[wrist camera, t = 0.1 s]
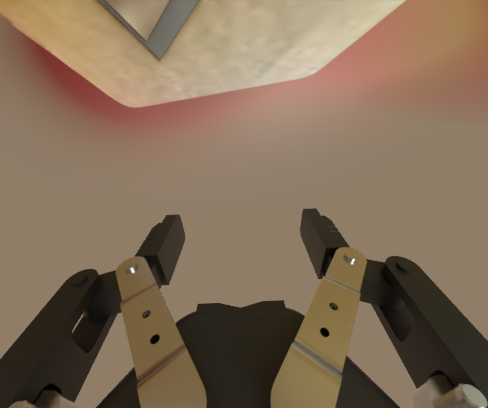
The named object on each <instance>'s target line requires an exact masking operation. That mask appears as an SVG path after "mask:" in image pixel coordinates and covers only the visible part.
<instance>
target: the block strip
mask: <svg viewBox="0 0 488 408" xmlns="http://www.w3.org/2000/svg"><path fill="white" fill-rule="evenodd" d="M106 1H107V2H108V3H109V4H110V5H111V6H112V7H113V8H114V9H115V10H116V11H117V12H118V13H119V14H120V15H121V16H122V17H123V18H124V19H125V20H126V21H127V22H128V23H129V24H130V25H131V26H132V27H133V28H134V29H135V30H136V31H137V32H138V33H139V34H140V35H141V36H142V37H143V38H144V39H145V40H146V41H147V40H148V38H149V36H150V35H151V33H152V31H153V29H154V28H155V26H156V24H157V22H158V21H159V19H160V17H161V15H162V14H163V12H164V10H165V8H166V7H167V5H168V3H169V1H170V0H106Z"/></svg>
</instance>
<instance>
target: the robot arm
mask: <svg viewBox="0 0 488 408" xmlns="http://www.w3.org/2000/svg"><path fill="white" fill-rule="evenodd" d="M300 232H301V237H302V240H303V242H304V245H305V247H306V250H307V252H308V254H309V257H310V260H311V262H312V264H313V267H314V269H315V272H316V274H317V276H318V279H322V280H321V282H320V285H319V287H318V289H317V291H316V293H315V296H314V298H313V300H312V302H311V305H310V307H309V309H308V311H307V313H306V316H304V315H302V314H301V313H299V312H297V311H295V310H292V309H289V308H286V307H285V304H284V301H281V300H280V301H262V302H259V303H255V304H252V305H249V306H246V307H242V308H239V307H234V306H230V305H225V304H220V303H210V304H198V306H197V311H196V312H193V313H191V314H188V315H187V316H185V317H183V318H182V319H180V320H179V321H178V322H176V323H175V322H174V320H173V318H172V316H171V314H170V311H169V309H168V307H167V305H166V303H165V300H164V298H163V296H162V294H161V292H160V288H161V285H169V283H170V280H171V277H172V275H173V272H174V269H175V267H176V264H177V261H178V258H179V256H180V253H181V250H182V247H183V245H184V241H185V233H184V229H183V225H182V221H181V218H180V215H166V217H165V219H164V220H163V222H162V223H158V224H157V225H156V226H155V227H153V228H152V230H151V231H150V233H149V235H148V236H147V238H146V240H145V241H144V242H143V244H142V245H141V247H140V249H139V250H138V252H137V254H136V255H135V257H132V258H129V259H127V260H125V261H124V262H122V263H121V264H120V265H119V266H118V268H117V269H116V270H115V271H112V272H108V273H105V274H101V275H99V274H98V272H97V271H96V270H94V269H86V270H83V271H80V272H78V273H76V274H74V275H73V276H71V277H70V278H69V279H68V280H66V282H65V283H64V284H63V285H62V286H61V287H60V289H59V290H58V291H57V292H56V293H55V295H54V296H53V297H52V298H51V299H50V301H49V302H48V303H47V304H46V305H45V307H44V308H43V309H42V310H41V311H40V313H39V314H38V315H37V316H36V317H35V319H34V320H33V321H32V322H31V323H30V325H29V326H28V327H27V328H26V329H25V331H24V332H23V333H22V334H21V335H20V337H19V338H18V339H17V340H16V341H15V342H14V344H13V345H12V346H11V347H10V348H9V350H8V351H7V352H6V353H5V354H4V356H3V357H2V358H1V359H0V408H76V406H75V404H74V402H75V400H76V398H77V396H78V394H79V392H80V390H81V388H82V386H83V383H84V381H85V379H86V377H87V375H88V373H89V371H90V369H91V367H92V365H93V363H94V361H95V359H96V357H97V355H98V353H99V350H100V348H101V346H102V344H103V342H104V340H105V338H106V336H107V334H108V332H109V330H110V328H111V326H112V324H113V322H114V320H115V318H116V316H117V314H118V313H121V312H122V316H123V320H124V324H125V329H126V333H127V337H128V341H129V346H130V350H131V354H132V359H133V363H134V368H133V369H132V370H131V371H130V372H129V373H128V374H127V375H126V376H125V377H124V378H123V379H122V380H121V381H120V382H119V384H118V385H117V386H116V387H115V388H114V389H113V390H112V391H111V392H110V393H109V394H108V395H107V396H106V397H105V398H104V400H103V401H102V402H101V403H100V404H99V405H98V406H97V407H96V408H400V407H399V406H398V405H397V404H396V403H395V402H394V401H393V400H392V399H391V398H390V397H389V396H388V395H387V394H386V393H384V391H383V390H382V389H381V388H379V387H378V386H377V385H376V384H375V383H374V382H373V381H372V380H371V379H370V378H369V377H368V376H367V375H366V374H365V373H364V372H363V371H362V370H361V369H360V368H359V367H358V366H357V365H356V364H354V363H353V362H352V360H351V359H349V357H347V356H346V354H347V350H348V346H349V342H350V337H351V333H352V329H353V325H354V321H355V316H356V312H357V308H358V304H359V301H363V302H367V303H370V304H371V305H372V306H373V308H374V310H375V312H376V314H377V316H378V317H379V319H380V321H381V323H382V325H383V327H384V329H385V330H386V332H387V334H388V336H389V338H390V340H391V342H392V343H393V345H394V347H395V349H396V351H397V353H398V354H399V356H400V358H401V360H402V362H403V364H404V366H405V367H406V369H407V371H408V373H409V375H410V377H411V378H412V380H413V382H414V384H415V386H416V388H417V389H416V391H415V392H414V397H413V400H414V405H415V408H488V341H487V340H486V339H485V338H484V337H483V336H482V335H481V333H480V332H479V331H478V330H477V329H476V328H475V327H474V326H473V325H472V324H471V323H470V321H468V319H467V318H466V317H465V316H464V315H463V314H462V313H461V312H460V311H459V310H458V308H457V307H456V306H455V305H454V304H453V303H452V302H451V301H450V300H449V299H448V298H447V296H445V294H444V293H443V292H442V291H441V290H440V289H439V288H438V287H437V286H436V285H435V283H434V282H433V281H432V280H431V279H430V278H429V277H428V276H427V275H426V274H425V273H424V272H423V270H422V269H421V268H420V267H419V266H418V265H416V264H415V263H414V262H412V261H410V260H408V259H406V258H403V257H398V256H391V257H388V258H387V260H386V261H385V263H384V262H378V261H373V260H368V259H366V258H365V256H364V255H363V254H362V253H361V252H359V251H358V250H355V249H353V248H350V247H349V245H348V244H347V243H346V241H345V240H344V238H343V237H342V235H341V234H340V232H338V229H337V228H336V227H335V225H334V224H333V222H332V221H331V220H330V219H329V218H327V217H326V216H321V215H320V214H319V212H318V211H317V209H315V208H314V209H303V213H302V220H301V227H300ZM82 314H83V315H84V316H83V317H82V319H81V320H80V322H79V324H78V325H77V327H76V328H75V330H74V332H73V333H72V330H73V328H74V326H75V324H76V323H77V322H78V320H79V319H80V317H81V315H82Z"/></svg>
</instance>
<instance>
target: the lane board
mask: <svg viewBox="0 0 488 408" xmlns="http://www.w3.org/2000/svg"><path fill="white" fill-rule="evenodd" d="M99 1H100V2H101V3H102V4H103V5H104V6H106V7H107V8H108V9H109V10H110V11H111V12H112V13H113V14H114V15H115V16H116V17H117V18H118V19H119V20H120V21H121V22H122V23H123V24H124V25H125V26H126V27H127V28H128V29H129V30H130V31H131V32H132V33H133V34H134V35H135V36H136V37H137V38H138V39H139V40H141V41H142V42H143V43H144V44H145V45H146V46H147V47H148V48H149V49H150V50H151V51H152V52H153V53H154V54H155V55H156V56H157V57H158V58H159V59H161V58H162V56H163V55H164V53H165V52H166V50H167V48H168V47H169V45H170V44H171V42H172V41H173V39H174V38H175V36H176V35H177V33H178V31H179V30H180V28H181V27H182V25H183V24H184V22H185V21H186V19H187V18H188V16H189V14H190V13H191V11H192V10H193V8H194V7H195V5H196V4H197V2H198V1H199V0H170V1H169V3H168V5H167V7H166V8H165V10H164V12H163V14H162V15H161V17H160V19H159V21H158V22H157V24H156V26H155V28H154V29H153V31H152V33H151V35H150V36H149V38H148V40H147V41H146V40H145V39H144V38H143V37H142V36H141V35H140V34H139V33H138V32H137V31H136V30H135V29H134V28H133V27H132V26H131V25H130V24H129V23H128V22H127V21H126V20H125V19H124V18H123V17H122V16H121V15H120V14H119V13H118V12H117V11H116V10H115V9H114V8H113V7H112V6H111V5H110V4H109V3H108V2H107V1H106V0H99Z"/></svg>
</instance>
